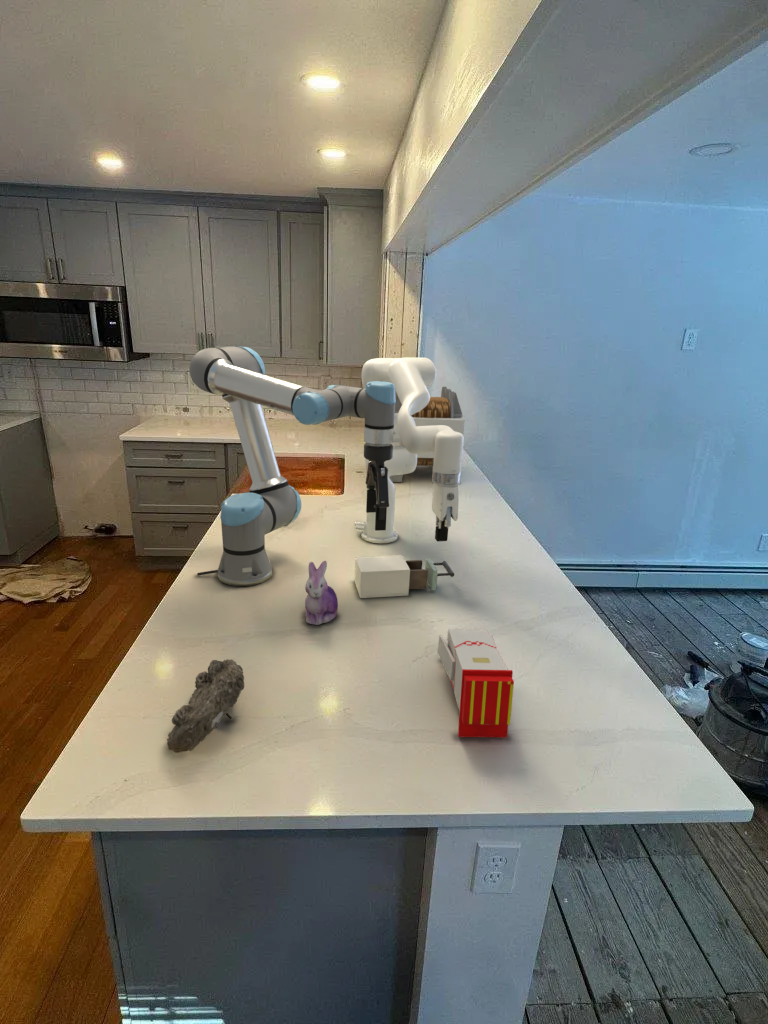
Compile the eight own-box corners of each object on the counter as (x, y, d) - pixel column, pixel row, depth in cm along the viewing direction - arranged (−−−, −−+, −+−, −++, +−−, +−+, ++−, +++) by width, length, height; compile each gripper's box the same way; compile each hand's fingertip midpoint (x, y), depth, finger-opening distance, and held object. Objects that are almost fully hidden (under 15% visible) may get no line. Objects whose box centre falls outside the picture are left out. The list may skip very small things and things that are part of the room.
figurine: (310, 630, 138) (310, 574, 133) (296, 610, 147) (296, 557, 141) (346, 622, 142) (347, 568, 137) (330, 603, 151) (331, 552, 146)
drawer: (444, 575, 168) (446, 556, 166) (453, 588, 160) (455, 569, 158) (386, 578, 164) (387, 559, 162) (392, 592, 157) (393, 572, 155)
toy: (488, 613, 130) (523, 677, 101) (484, 667, 133) (517, 744, 104) (435, 612, 130) (455, 676, 101) (432, 666, 133) (451, 743, 103)
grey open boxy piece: (382, 463, 289) (386, 382, 275) (445, 464, 293) (451, 384, 279) (390, 482, 257) (394, 392, 243) (460, 483, 261) (468, 394, 247)
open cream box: (400, 579, 166) (402, 555, 164) (408, 595, 157) (410, 569, 155) (354, 582, 163) (355, 557, 161) (360, 598, 155) (360, 571, 152)
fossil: (192, 660, 117) (244, 628, 112) (224, 691, 120) (276, 661, 115) (142, 746, 98) (202, 712, 93) (182, 779, 101) (242, 748, 96)
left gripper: (403, 455, 135) (399, 537, 142) (383, 433, 158) (380, 505, 165) (372, 455, 133) (369, 538, 141) (356, 433, 156) (354, 505, 164)
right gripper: (468, 485, 146) (462, 550, 153) (451, 469, 160) (445, 529, 166) (440, 485, 145) (435, 551, 151) (425, 470, 159) (421, 530, 165)
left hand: (375, 520), depth 153 cm, fingers open, 13 cm apart
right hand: (441, 540), depth 159 cm, fingers closed
